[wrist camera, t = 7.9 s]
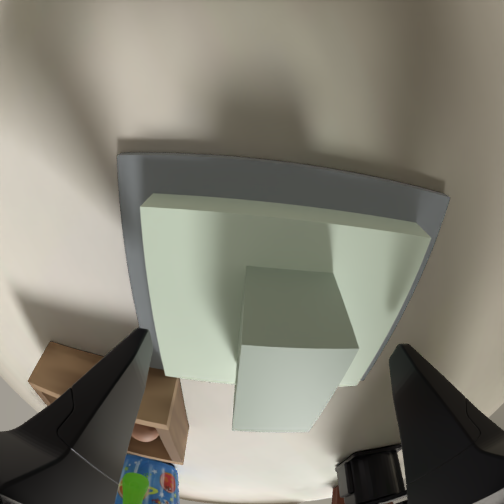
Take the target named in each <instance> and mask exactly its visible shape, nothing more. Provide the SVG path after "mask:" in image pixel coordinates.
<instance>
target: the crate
mask: <svg viewBox="0 0 504 504" xmlns="http://www.w3.org/2000/svg"><path fill="white" fill-rule="evenodd" d="M103 357H104V356H100V355H96V354H92V353H88V352H85V351H81V350H77V349H74V348H70V347H67V346H64V345H61V344H57V343H54V342H51V341H50V342H49V344H48V346H47V347H46V349H45V351H44V353H43V354H42V356H41V358H40V360H39V361H38V363H37V365H36V367H35V368H34V370H33V372H32V374H31V376H30V378H29V380H28V382H29V384H30V385H31V386H32V387H33V389H34V390H35V391H36V393H37V394H38V395H39V396H40V398H41V399H42V400H43V401H44V402H45V404H46V405H47V406H49V405H50V404H51V403H53V402H54V401H55V400H56V399H57V398H59V397H60V396H61V395H62V394H63V393H64V392H65V391H67V390H68V389H69V388H70V387H71V388H72V385H73V384H74V383H75V382H77V381H78V380H79V379H80V378H81V377H82V376H83V375H84V374H86V373H87V372H88V371H89V370H90V369H91V368H92V367H93V366H94V365H96V364H97V363H98V362H99V361H100V360H101V359H102V358H103ZM188 429H189V424H188V420H187V415H186V410H185V405H184V400H183V394H182V389H181V383H180V378H176V377H170V376H165V372H164V370H162V369H156V368H151V367H150V366H149V371H148V376H147V382H146V387H145V391H144V394H143V398H142V401H141V404H140V407H139V411H138V414H137V418H136V421H135V425H134V428H133V432H132V435H131V439H130V442H129V446H128V450H127V453H130V454H133V455H137V456H141V457H145V458H150V459H154V460H159V461H164V462H169V463H174V464H180V465H183V462H184V456H185V449H186V442H187V436H188Z"/></svg>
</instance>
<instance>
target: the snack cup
mask: <svg viewBox="0 0 504 504" xmlns="http://www.w3.org/2000/svg"><path fill="white" fill-rule="evenodd" d="M118 485H119V486H118V490H117V495H116V499H115V504H180V503H179V488H178V485H179V484H178V473H177V471H176V469H175V468H174V467H173V466H172V465H168V464H166V463H163V462H161V461H158V460H154V459H150V458H145V457H141V456H137V455H133V454H126V457H125V461H124V465H123V469H122V473H121V477H120V481H119V484H118Z"/></svg>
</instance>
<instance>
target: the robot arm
mask: <svg viewBox="0 0 504 504" xmlns="http://www.w3.org/2000/svg"><path fill="white" fill-rule="evenodd" d="M152 351H153V344H152V339H151V335H150V331H149V330H148V329H144V328H137V329H135V330H134V331H133V332H132V333H131V334H130V335H128V336H127V337H126V338H125V339H124V340H123V341H122V342H120V343H119V344H118V345H117V346H116V347H115V348H114V349H113V350H111V351H110V352H109V353H108V354H107V355H106V356H105V357H103V358H102V359H101V360H100V361H99V362H98V363H97V364H96V365H94V366H93V367H92V368H91V369H90V370H89V371H88V372H87V373H86V374H84V375H83V376H82V377H81V378H80V379H79V380H78V381H77V382H75V383H74V384H73V385H72V388H71V387H70V388H69V389H68V390H67V391H65V392H64V393H63V394H62V395H61V396H60V397H59V398H57V399H56V400H55V401H54V402H53V403H51V404H50V405H49V406H47V407H46V408H45V409H43V410H42V411H40V412H39V413H38V414H36V415H35V416H33V417H32V418H31V419H29V420H28V421H27V422H25V423H24V424H22V425H21V426H19V427H17V428H15V429H13V430H9V431H2V432H0V504H115V499H116V495H117V490H118V486H119V485H118V484H119V481H120V477H121V473H122V469H123V465H124V461H125V457H126V454H127V450H128V446H129V442H130V439H131V435H132V432H133V428H134V425H135V421H136V418H137V414H138V411H139V407H140V404H141V401H142V398H143V394H144V391H145V387H146V382H147V376H148V371H149V366H150V361H151V356H152ZM389 367H390V375H391V384H392V393H393V400H394V405H395V410H396V415H397V421H398V427H399V433H400V439H401V444H400V445H396V446H391V447H387V448H382V449H376V450H371V451H365V452H358V453H355V454H353V455H351V456H350V457H349V458H348V459H347V460H345V461H344V462H343V463H341V464H340V465H339V466H338V467H336V468H335V471H337V476H338V485H339V494H340V497H341V498H344V501H345V504H386V503H389V502H392V501H395V500H398V499H401V498H404V497H407V499H408V500H405V501H402V502H400V503H396V504H504V431H503V430H502V429H501V428H500V427H498V426H497V425H496V424H495V423H493V422H492V421H491V420H490V419H489V418H488V417H486V416H485V415H484V414H483V413H482V412H481V411H479V410H478V409H477V408H476V407H475V406H474V405H473V404H472V403H471V402H470V401H469V400H468V399H467V398H465V396H464V395H463V394H462V393H461V392H459V391H458V390H457V389H456V388H455V387H454V386H453V385H452V384H451V383H450V382H449V381H448V380H447V379H446V378H445V377H444V376H443V375H442V374H441V373H439V372H438V371H437V370H436V369H435V368H434V367H433V366H432V365H431V364H430V363H429V362H428V361H427V360H426V359H424V358H423V357H422V356H421V355H420V354H419V353H418V352H417V351H416V350H415V349H414V348H412V347H411V346H410V345H409V344H399V345H398V346H397V347H396V349H395V351H394V352H393V354H392V355H391V357H390V359H389ZM401 449H402V452H403V459H404V467H405V476H406V484H407V485H406V487H407V490H405V487H404V482H403V477H402V472H401V468H400V463H399V459H398V455H397V452H398V451H400V450H401Z"/></svg>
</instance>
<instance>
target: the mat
mask: <svg viewBox="0 0 504 504" xmlns="http://www.w3.org/2000/svg"><path fill="white" fill-rule="evenodd" d="M117 169H118V186H119V199H120V211H121V220H122V229H123V238H124V245H125V252H126V259H127V266H128V272H129V278H130V283H131V289H132V294H133V299H134V304H135V309H136V314H137V318H138V323H139V327H140V328H144V329H148V330H149V331H150V335H151V339H152V344H153V351H152V356H151V361H150V367H151V368H156V369H162V370H164V368H163V363H162V359H161V354H160V349H159V344H158V340H157V334H156V329H155V324H154V318H153V313H152V307H151V300H150V294H149V287H148V280H147V273H146V265H145V257H144V248H143V238H142V227H141V214H140V206H141V205H142V204H143V203H144V202H145V201H146V200H147V199H148V198H149V197H150V196H151V195H152V194H153V193H158V194H176V195H192V196H206V197H219V198H231V199H243V200H253V201H264V202H273V203H282V204H291V205H300V206H308V207H316V208H324V209H332V210H339V211H346V212H353V213H360V214H366V215H373V216H379V217H386V218H392V219H398V220H403V221H409V222H415V223H417V224H418V225H419V226H420V227H421V228H422V229H423V230H424V231H425V232H426V233H427V234H428V235H429V236H430V237H431V241H430V243H429V246H428V248H427V251H426V254H425V256H424V259H423V261H422V263H421V266H420V268H419V271H418V273H417V275H416V277H415V280H414V282H413V284H412V286H411V289H410V291H409V293H408V295H407V297H406V299H405V301H404V303H403V305H402V307H401V309H400V311H399V313H398V315H397V317H396V319H395V321H394V323H393V325H392V327H391V329H390V331H389V332H388V334H387V336H386V338H385V340H384V342H383V343H382V345H381V347H380V349H379V350H378V352H377V354H376V355H375V357H374V359H373V360H372V362H371V364H370V365H369V367H368V369H367V370H366V372H365V373H364V375H363V376H362V378H361V380H364V379H365V378H366V376H367V375H368V373H369V371H370V370H371V368H372V367H373V365H374V364H375V362H376V360H377V359H378V357H379V355H380V354H381V352H382V350H383V349H384V347H385V345H386V344H387V342H388V340H389V338H390V337H391V335H392V333H393V331H394V330H395V328H396V326H397V324H398V322H399V320H400V318H401V317H402V315H403V313H404V311H405V309H406V307H407V305H408V303H409V301H410V299H411V297H412V295H413V293H414V290H415V288H416V286H417V284H418V282H419V280H420V277H421V275H422V273H423V271H424V268H425V266H426V264H427V261H428V259H429V256H430V254H431V251H432V249H433V246H434V244H435V241H436V239H437V236H438V233H439V230H440V228H441V225H442V222H443V219H444V216H445V213H446V210H447V207H448V204H449V201H450V197H449V196H447V195H446V194H444V193H440V192H436V191H433V190H429V189H425V188H421V187H417V186H413V185H409V184H405V183H401V182H397V181H392V180H388V179H383V178H379V177H374V176H369V175H364V174H359V173H354V172H348V171H343V170H337V169H331V168H325V167H319V166H312V165H305V164H298V163H291V162H283V161H275V160H266V159H257V158H246V157H235V156H222V155H207V154H188V153H148V152H133V153H120V154H118V155H117ZM361 380H360V381H361Z"/></svg>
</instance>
